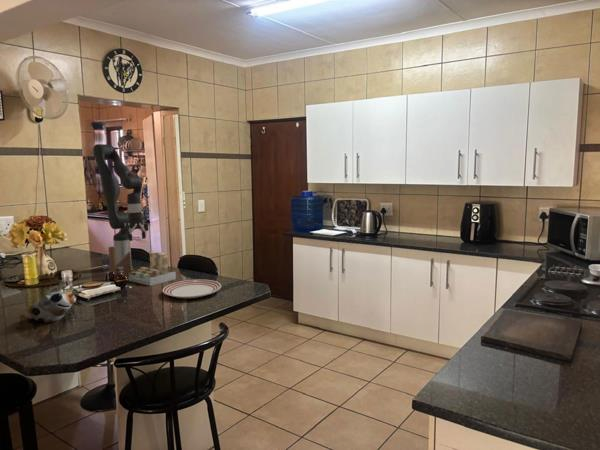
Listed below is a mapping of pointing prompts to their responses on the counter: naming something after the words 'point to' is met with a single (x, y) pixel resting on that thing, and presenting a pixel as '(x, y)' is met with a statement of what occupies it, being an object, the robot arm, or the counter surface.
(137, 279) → the rack
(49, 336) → the counter surface
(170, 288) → the dinner plate
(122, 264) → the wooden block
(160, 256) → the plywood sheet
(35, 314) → the lucky cat figurine
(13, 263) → the counter surface
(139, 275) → the offcut stack
